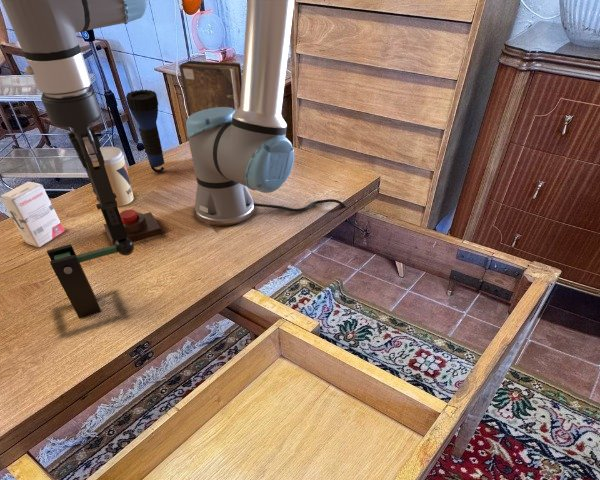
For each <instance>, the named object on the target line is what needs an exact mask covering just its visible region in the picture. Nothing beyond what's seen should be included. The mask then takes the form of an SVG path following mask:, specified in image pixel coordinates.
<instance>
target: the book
mask: <svg viewBox="0 0 600 480" xmlns="http://www.w3.org/2000/svg"><path fill="white" fill-rule="evenodd" d="M178 68H179V72H180V77H181V82H182V83H181V85H182V87H183V93H184V97H185V100H184V101H185V103H186V108H187V115H188V117H189V116H190V115H192V114H194V113H196V112H199V111H202V110H205V109H210V108H217V107H230V108H233V109H234V110H235V111H237V110H238V109H239V107H240V101H241V86H242V72H243V69H242V64H241V63H240V62H220V61H219V62H218V61H199V60H187V61H186V62H183V63H180V64H179V65H178Z"/></svg>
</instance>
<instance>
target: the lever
mask: <svg viewBox="0 0 600 480" xmlns="http://www.w3.org/2000/svg"><path fill="white" fill-rule="evenodd" d="M134 251H135V244H134V242H132V241H131V240H130V239H129V238H125V239H121V240H117V241H116V243H115V245H110V246H106V247H102V248H98V249H96V250H94V249H93V250H91V251H87V252H83V253H79V254H76V258H77V260H78V262H79V263H80V264H81V263H83V262H87V261H91V260H94V259H98V258H102V257H106V256H109V255H113V254H117V253H118V254H119V255H121V256H124V257H128V256H130V255H132V254H133V253H134ZM68 256H71V254H70V252H67V253H63V254H59V255H55V256H54V258H55V260H57V259H60V258H64V257H68Z"/></svg>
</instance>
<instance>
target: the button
mask: <svg viewBox="0 0 600 480" xmlns="http://www.w3.org/2000/svg"><path fill="white" fill-rule="evenodd" d="M136 212H137V211H136V210H135V209H125V210H122V211H121V212H119V214H120V216H121V219H122V222H123V224H131V223H135V222H136V221H138V216H137V213H136Z"/></svg>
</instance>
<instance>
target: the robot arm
mask: <svg viewBox="0 0 600 480" xmlns="http://www.w3.org/2000/svg"><path fill="white" fill-rule="evenodd" d="M0 2H1V4H2V6H3V8H4V11H5V13H6V16H7V19H8V20H9V23H10V26H11V28H12V30H13V32H14V36H15V37H16V40H17V42H18V44H19V47H20V48H21V49H20V50H21V52H22V54H23V57H24V58H25V61H26V63H27V66H25V67H24V72H25V74H26V75H28V76H32V79H33V81H34V84H35V86H36V88H37V91H39V92H40V93H42V94H41V97H40V99H41V102H42V104H43V107H44V109H45V112H46V114H47V117H48V119H49V121H50V123H51V124H52V125H53V126H55V127H58V128H62V129H66V128H70V132H68V133H67V135H68V138H69V141H70V143H71V145H72V147H73V148H74V151H75V152H76V155H77V157H78V160H79V162H80V163H81V165H82V167H83V169H85V171H86V174H87V177H88V179H89V182H90V185H91V187H92V192H93V194H94V195H95V196H96V197H95V199H96V200H97V202H98V203H97V204H95V206H96V208H97V210H100V211H101V213H102V217H103V219H104V222H105V224H107V227H108V229H109V232H110V235H111V237H112V239H113V241H117V240H121V239H125V238H128V237H127V234H126V231H125V228H124V225H123V222H122V219H121V216H120V211H119V209H118V206H117V201H116V200H115V198H117V197H116V195H115V193H113V190H112V187H111V184H110V181H109V178H108V175H107V172H106V169H105V165H104V163H105V162H104V159H103V156H102V153H101V150H100V148H101V142H100V140H99V139H100V138H99V137H98V134H97V133H95V130H94V128H90V125H91V124H92V123H96V122H97V121H99V120H100V118H101V116H102V112H101V108H100V105H99V103H98V99H97V96H96V93H95V91H94V89H93V88H91V84H92V79H91V76H90V74H89V70H88V67H87V64H86V60H85V57H84V55H83V51H82V49H81V46H80V43H79V40H78V37H77V33H83V32H86V31H90V30H96V29H97V30H98V29H101V28H106V27H111V26H117V25H122V24H124V25H127V24H129V23H131V22H134V21H136V20H139V19H141V18H142V17H143V16H144V15H145V13H146V10H147V5H148V4H147V3H148V0H0ZM294 7H295V0H247V1H246V14H245V29H244V30H245V31H244V45H243V58H242V59H243V60H242V86H241V101H240V107H239V109H238V110H237V111H235V110H234V109H233V108H230V107H217V108H210V109H205V110H202V111H199V112H196V113H194V114H192V115H190V116H188V117H187V119H186V120H185V121H186V122H185V126H186V127H185V128H186V137H187V140H188V144H189V149H190V155H191V158H192V164H193V169H194V175H195V178H196V185H197V186H196V194H195V203H194V209H195V214H196V218H197V219H198V220H199V221H200V222H201V223H203V224H204V223H207V224H208V225H210V226H217V227H225V226H232V225H233V226H234V225H236V224H239V223H242V222H245V221H247V220H248V219H249V218H251V217H252V216H253V214H254V212H255V207H257V208H258V207H261V208H268V209H269V208H271V209H279V210H283V211H288V212H298V213H299V212H303V211H306V210H309V209H310V208H312V207H313V206H315V205H317V204H325V203H336V204H339V205H341V207H343V208H347V205H346V204H345V203H344V202H343V201H341V200H339V199H334V198H328V199H320V200H315V201H313V202H311V203H309V204H308V205H306V206H304V207H299V208H292V207H287V206H283V205H277V204H276V205H275V204H267V203H257V202H256V203H255V202H254V199H253V197H252V194H251V192H250V190H252V191H257V192H259V193H263V194H270V193H273V192H275V191H277V190H279V189H280V188H281V187H282V186H283V184H285V182H286V181H287V180H288V178H289V176H290V174H291V172H292V169H293V166H294V161H295V150H294V148H293V144H292V142H291V141H290V140H289V139H288V138H287V136H286V135H287V127H288V124H287V122H286V121H285V119H284V117H283V115H282V110H283V109H282V108H283V101H284V91H285V83H286V77H287V75H286V74H287V67H288V57H289V50H290V41H291V34H292V33H291V31H292V24H293V16H294V15H293V14H294ZM343 326H347V321H344V322H343Z"/></svg>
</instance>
